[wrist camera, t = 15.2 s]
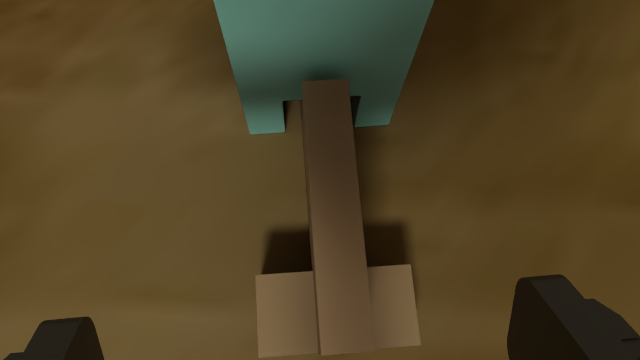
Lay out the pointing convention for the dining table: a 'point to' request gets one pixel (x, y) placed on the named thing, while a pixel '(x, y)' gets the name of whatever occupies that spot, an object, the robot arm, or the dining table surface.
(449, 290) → the dining table surface
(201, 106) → the dining table surface
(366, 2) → the slotted tab
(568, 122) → the dining table surface
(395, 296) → the slotted rail
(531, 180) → the dining table surface
